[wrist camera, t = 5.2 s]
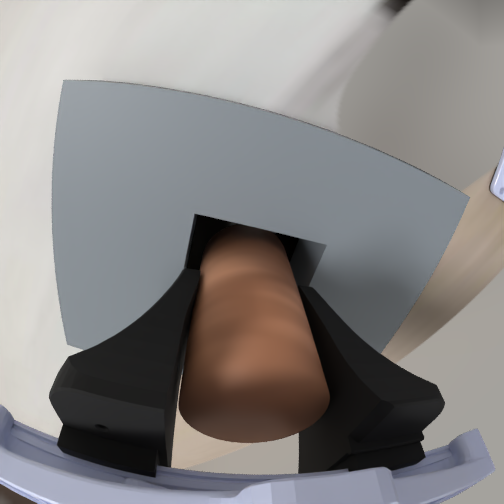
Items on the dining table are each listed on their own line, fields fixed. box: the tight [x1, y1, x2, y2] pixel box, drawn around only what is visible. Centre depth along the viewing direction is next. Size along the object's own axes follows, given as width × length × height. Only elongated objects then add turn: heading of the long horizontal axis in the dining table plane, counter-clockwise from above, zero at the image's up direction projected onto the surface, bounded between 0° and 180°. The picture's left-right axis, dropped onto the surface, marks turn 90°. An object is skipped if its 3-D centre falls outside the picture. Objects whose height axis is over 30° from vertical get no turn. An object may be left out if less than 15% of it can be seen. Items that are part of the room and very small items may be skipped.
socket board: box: [52, 80, 470, 374], centre depth 14 cm, size 18×14×4 cm
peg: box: [179, 224, 330, 443], centre depth 11 cm, size 4×4×8 cm
